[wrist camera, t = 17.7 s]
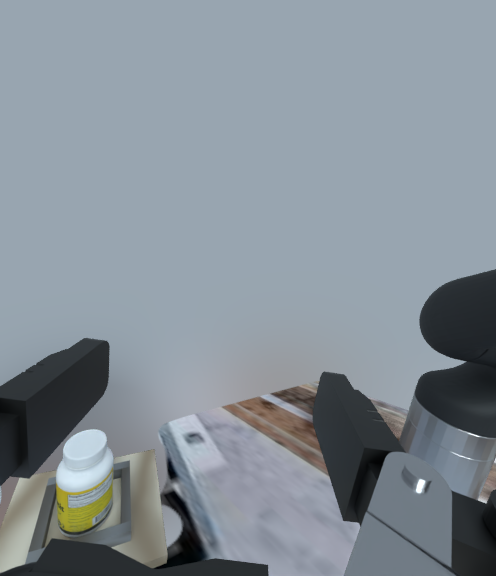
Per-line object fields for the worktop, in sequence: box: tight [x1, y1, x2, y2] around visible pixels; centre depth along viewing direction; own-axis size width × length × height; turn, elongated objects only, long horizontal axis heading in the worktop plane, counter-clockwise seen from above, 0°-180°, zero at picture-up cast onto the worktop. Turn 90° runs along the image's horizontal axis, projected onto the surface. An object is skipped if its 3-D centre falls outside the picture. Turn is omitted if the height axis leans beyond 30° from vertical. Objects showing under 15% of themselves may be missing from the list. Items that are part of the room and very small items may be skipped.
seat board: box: [0, 449, 168, 573], centre depth 31 cm, size 16×14×3 cm
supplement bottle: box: [56, 429, 114, 538], centre depth 30 cm, size 5×5×10 cm
